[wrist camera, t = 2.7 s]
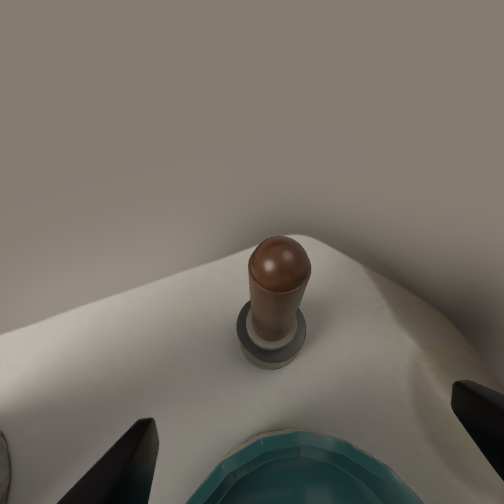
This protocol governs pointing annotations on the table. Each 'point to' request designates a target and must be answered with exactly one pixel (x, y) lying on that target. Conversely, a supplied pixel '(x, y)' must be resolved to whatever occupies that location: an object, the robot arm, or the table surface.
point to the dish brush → (274, 303)
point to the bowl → (301, 473)
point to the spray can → (4, 470)
